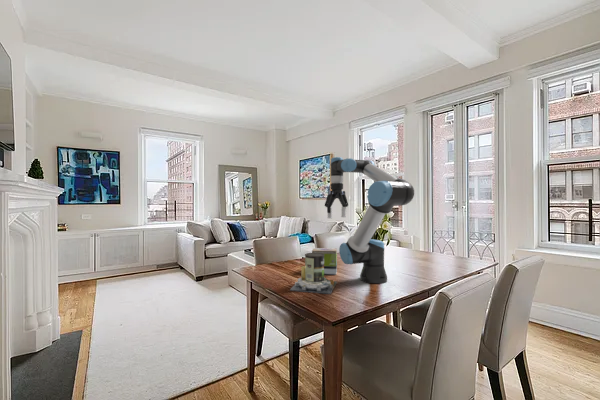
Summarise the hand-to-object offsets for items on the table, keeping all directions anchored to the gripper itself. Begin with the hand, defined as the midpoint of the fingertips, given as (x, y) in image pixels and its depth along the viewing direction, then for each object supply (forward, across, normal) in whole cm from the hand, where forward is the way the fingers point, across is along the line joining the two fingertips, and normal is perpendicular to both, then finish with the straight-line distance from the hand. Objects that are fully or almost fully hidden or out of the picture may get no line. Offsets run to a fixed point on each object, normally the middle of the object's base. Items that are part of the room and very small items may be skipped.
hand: (336, 217), depth 180 cm
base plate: (+35, +27, +7) cm, 45 cm away
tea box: (+35, +1, -8) cm, 36 cm away
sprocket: (+35, +27, +7) cm, 45 cm away
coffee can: (+32, +27, +7) cm, 43 cm away
